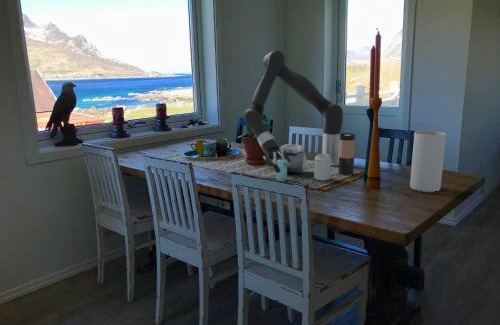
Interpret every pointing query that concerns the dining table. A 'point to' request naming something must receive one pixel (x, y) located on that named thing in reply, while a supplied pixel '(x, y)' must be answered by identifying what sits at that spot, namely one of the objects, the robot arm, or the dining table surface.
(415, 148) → the cylinder vase
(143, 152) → the dining table surface
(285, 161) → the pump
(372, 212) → the dining table surface
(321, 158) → the can
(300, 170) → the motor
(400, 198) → the dining table surface
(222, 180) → the dining table surface
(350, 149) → the travel mug
